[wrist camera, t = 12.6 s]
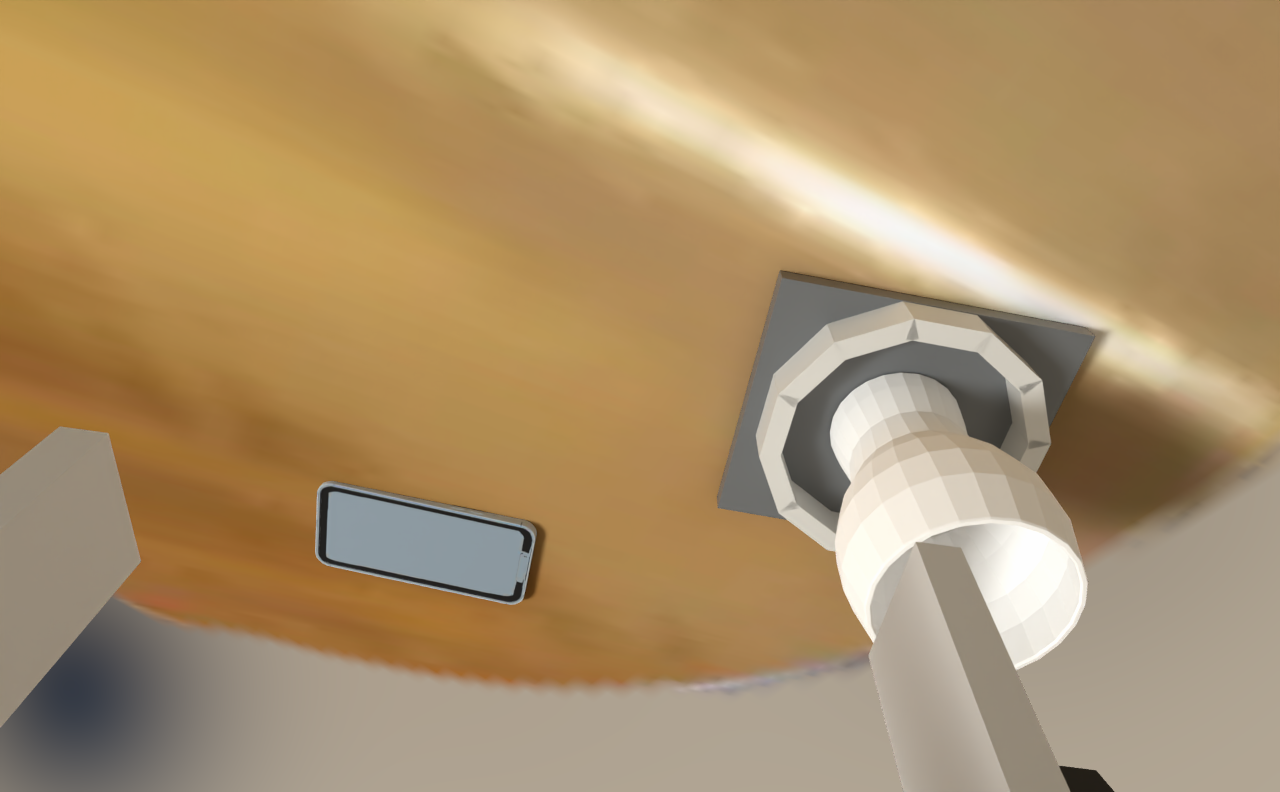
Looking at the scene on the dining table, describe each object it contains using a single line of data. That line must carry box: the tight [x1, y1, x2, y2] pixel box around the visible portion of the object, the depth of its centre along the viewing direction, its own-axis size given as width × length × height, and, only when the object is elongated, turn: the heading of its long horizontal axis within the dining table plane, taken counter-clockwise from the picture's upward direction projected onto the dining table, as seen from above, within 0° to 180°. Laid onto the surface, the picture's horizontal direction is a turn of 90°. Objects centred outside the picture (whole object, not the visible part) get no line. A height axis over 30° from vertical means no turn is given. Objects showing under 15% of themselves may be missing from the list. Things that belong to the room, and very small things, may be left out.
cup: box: [830, 373, 1088, 670], centre depth 41 cm, size 11×11×15 cm
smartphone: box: [315, 481, 537, 604], centre depth 56 cm, size 7×1×15 cm
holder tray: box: [717, 271, 1095, 551], centre depth 47 cm, size 16×18×4 cm
